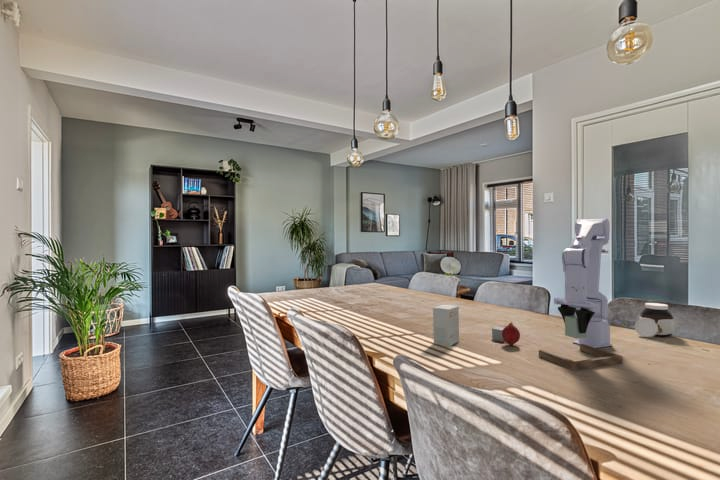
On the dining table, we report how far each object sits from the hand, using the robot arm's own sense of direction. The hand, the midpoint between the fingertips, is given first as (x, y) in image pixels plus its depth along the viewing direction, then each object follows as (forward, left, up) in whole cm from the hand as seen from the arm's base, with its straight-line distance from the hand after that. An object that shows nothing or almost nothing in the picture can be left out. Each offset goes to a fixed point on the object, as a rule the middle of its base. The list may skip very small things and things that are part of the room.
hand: (575, 331), depth 113 cm
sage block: (0, 0, -2) cm, 2 cm away
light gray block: (+7, -26, -8) cm, 28 cm away
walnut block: (0, +1, -8) cm, 8 cm away
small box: (+28, -29, -9) cm, 41 cm away
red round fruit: (+9, -18, -9) cm, 22 cm away
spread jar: (-49, -9, -9) cm, 51 cm away
